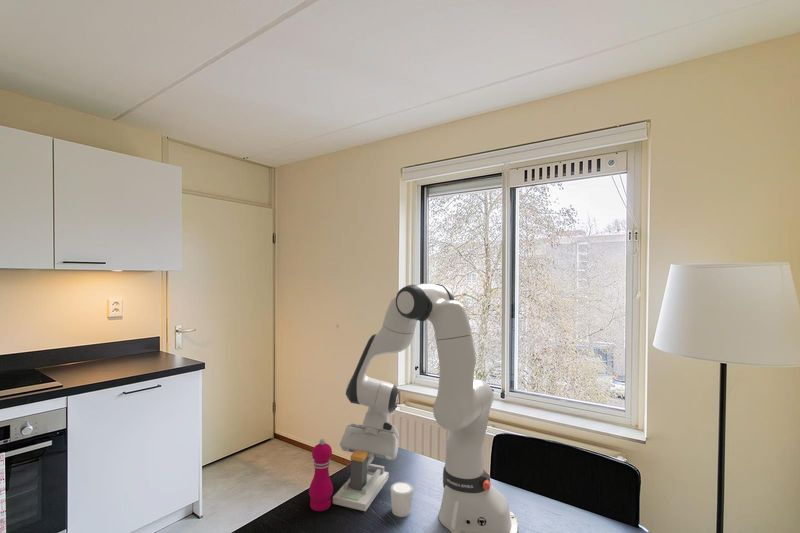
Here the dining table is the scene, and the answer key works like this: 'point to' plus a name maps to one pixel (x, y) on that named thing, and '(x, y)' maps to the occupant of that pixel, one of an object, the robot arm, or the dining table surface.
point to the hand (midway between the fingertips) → (362, 468)
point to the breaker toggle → (358, 470)
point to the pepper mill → (321, 478)
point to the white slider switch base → (368, 492)
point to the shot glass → (401, 498)
